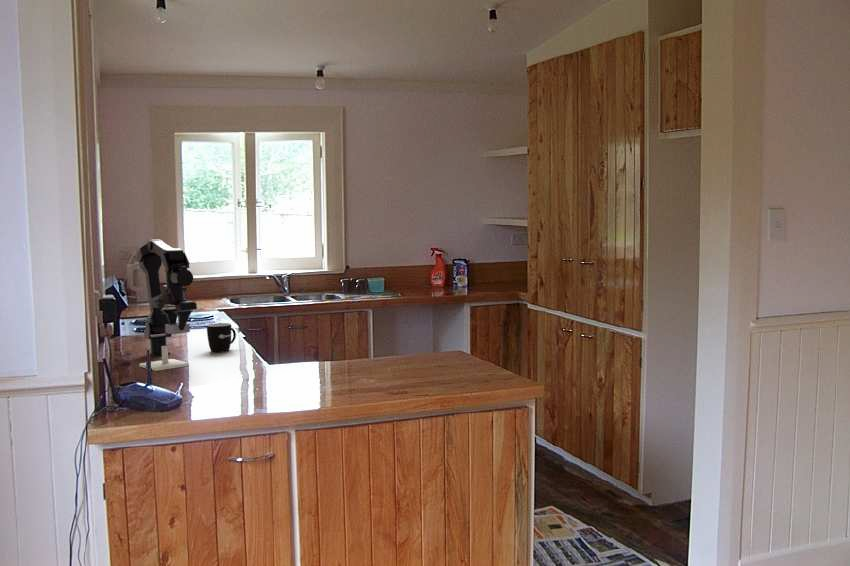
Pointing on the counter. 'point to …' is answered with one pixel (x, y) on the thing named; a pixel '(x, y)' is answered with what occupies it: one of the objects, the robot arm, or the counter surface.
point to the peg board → (166, 366)
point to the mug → (220, 337)
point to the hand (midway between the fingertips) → (177, 329)
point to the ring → (176, 328)
